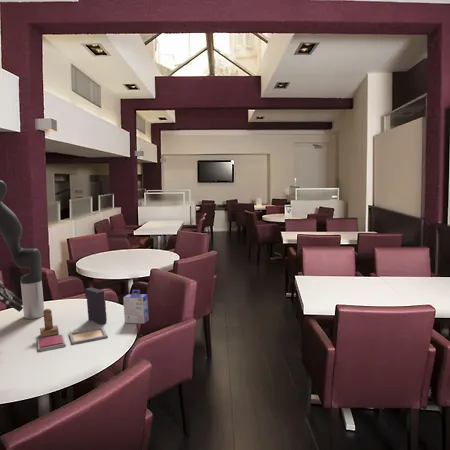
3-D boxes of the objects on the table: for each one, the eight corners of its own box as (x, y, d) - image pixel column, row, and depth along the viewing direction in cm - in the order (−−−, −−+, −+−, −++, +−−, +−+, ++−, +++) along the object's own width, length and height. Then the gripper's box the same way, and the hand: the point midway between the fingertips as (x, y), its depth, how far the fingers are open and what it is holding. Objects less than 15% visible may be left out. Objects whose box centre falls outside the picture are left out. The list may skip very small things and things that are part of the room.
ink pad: (37, 341, 177) (37, 338, 177) (63, 337, 182) (62, 333, 181) (38, 351, 167) (38, 347, 167) (65, 346, 172) (65, 342, 171)
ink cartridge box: (149, 319, 199) (147, 289, 197) (144, 324, 194) (143, 292, 192) (129, 319, 201) (127, 288, 199) (124, 323, 196) (122, 292, 194)
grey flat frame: (69, 334, 184) (68, 332, 184) (102, 328, 190) (102, 326, 190) (72, 344, 173) (72, 342, 173) (107, 337, 179) (107, 335, 179)
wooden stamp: (40, 334, 185) (38, 308, 184) (57, 331, 188) (55, 305, 187) (41, 338, 181) (38, 311, 179) (58, 335, 184) (56, 309, 182)
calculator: (108, 322, 197) (105, 290, 195) (99, 325, 194) (97, 292, 192) (95, 317, 205) (93, 286, 203) (87, 320, 202) (84, 288, 200)
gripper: (-8, 280, 167) (28, 304, 173) (-6, 272, 179) (27, 295, 186) (-22, 295, 165) (14, 319, 171) (-19, 287, 178) (15, 309, 184)
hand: (21, 306), depth 179 cm, fingers open, 8 cm apart
